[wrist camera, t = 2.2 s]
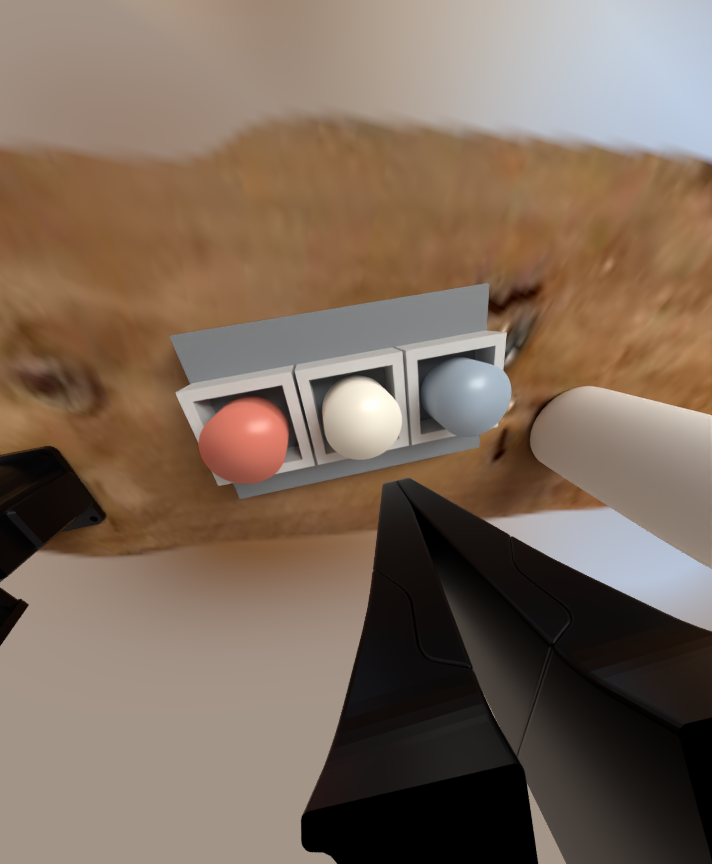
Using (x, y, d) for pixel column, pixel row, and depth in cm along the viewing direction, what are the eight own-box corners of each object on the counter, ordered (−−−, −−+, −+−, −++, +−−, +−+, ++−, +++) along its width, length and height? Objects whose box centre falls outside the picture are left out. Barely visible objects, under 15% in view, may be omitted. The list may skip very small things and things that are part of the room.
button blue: (422, 426, 17) (439, 443, 14) (419, 363, 15) (438, 371, 13) (481, 414, 17) (507, 429, 15) (484, 350, 15) (515, 357, 13)
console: (247, 479, 21) (231, 519, 17) (189, 332, 16) (147, 338, 12) (462, 433, 22) (496, 460, 18) (466, 287, 17) (513, 278, 13)
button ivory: (329, 445, 16) (332, 466, 14) (315, 382, 14) (316, 395, 12) (391, 432, 16) (404, 451, 14) (385, 369, 15) (399, 379, 12)
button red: (230, 465, 16) (217, 491, 13) (204, 403, 14) (183, 420, 12) (297, 452, 16) (294, 474, 14) (279, 389, 14) (273, 403, 12)
